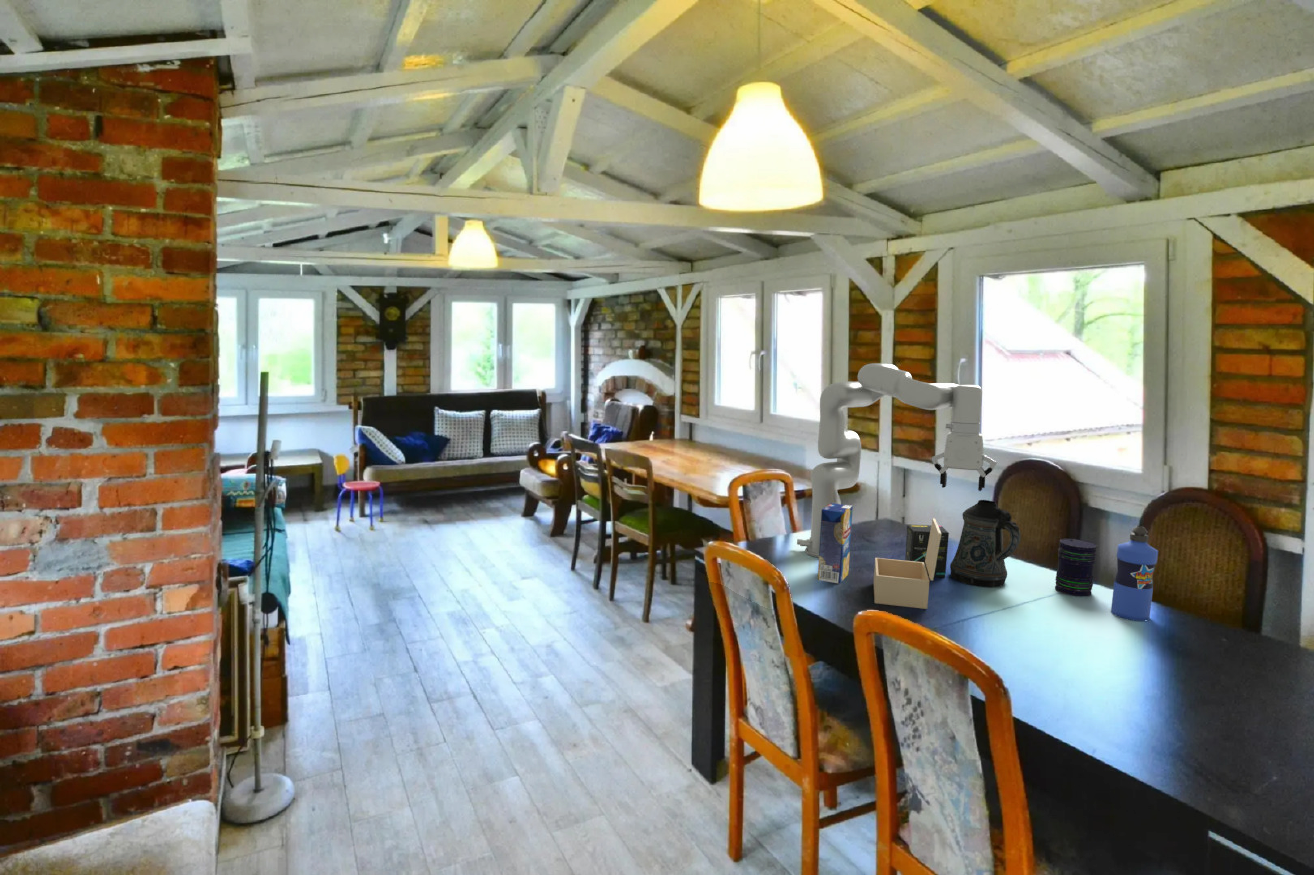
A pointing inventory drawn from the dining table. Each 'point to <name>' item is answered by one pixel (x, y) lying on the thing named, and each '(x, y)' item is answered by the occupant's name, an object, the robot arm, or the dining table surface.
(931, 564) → the lid
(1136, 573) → the water bottle
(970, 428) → the robot arm
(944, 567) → the tampon box
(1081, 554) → the storage jar
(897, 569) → the carton
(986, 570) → the beer stein
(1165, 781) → the dining table surface
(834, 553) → the beverage box
